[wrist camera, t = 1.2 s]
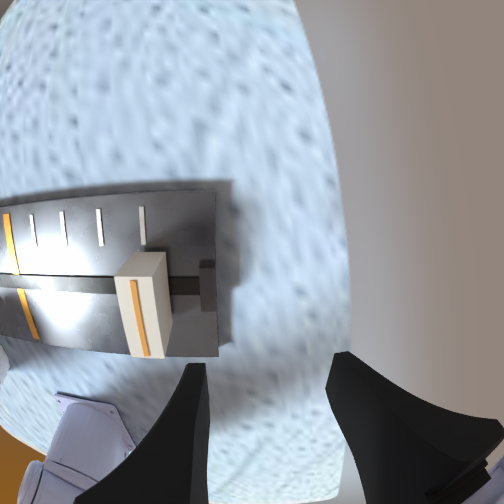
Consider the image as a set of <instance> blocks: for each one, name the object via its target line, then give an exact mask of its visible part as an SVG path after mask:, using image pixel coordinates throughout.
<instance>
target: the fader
mask: <svg viewBox="0 0 504 504" xmlns="http://www.w3.org/2000/svg"><path fill="white" fill-rule="evenodd" d="M114 280H115V286H116V291H117V297H118V302H119V307H120V312H121V317H122V321H123V326H124V330H125V334H126V338H127V342H128V346H129V350H130V354H131V357H139V358H157V359H165V355H166V351H167V346H168V342H169V337H170V333H171V328H172V324H173V321H172V313H171V304H170V295H169V286H168V275H167V263H166V252H134V253H133V255H132V256H131V257H130V258H129V259H128V260H127V262H126V263H125V264H124V265H123V266H122V267H121V269H120V270H119V271H118V272H117V273H116V275H115V276H114Z"/></svg>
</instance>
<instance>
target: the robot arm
mask: <svg viewBox="0 0 504 504" xmlns="http://www.w3.org/2000/svg"><path fill="white" fill-rule="evenodd" d="M325 390H326V393H327V397H328V400H329V403H330V406H331V409H332V411H333V414H334V416H335V418H336V420H337V422H338V424H339V426H340V429H341V431H342V433H343V435H344V437H345V439H346V441H347V443H348V445H349V447H350V449H351V452H352V454H353V456H354V460H355V463H356V466H357V469H358V472H359V475H360V479H361V483H362V487H363V490H364V495H365V499H366V504H504V456H503V457H502V458H501V459H500V460H499V461H498V462H497V463H496V464H495V465H494V466H493V467H492V468H491V469H490V470H489V471H486V469H485V467H486V466H487V465H488V463H487V461H486V460H485V458H486V457H487V456H488V455H489V454H490V453H491V452H492V451H493V450H494V449H495V448H496V447H497V446H498V445H499V444H500V443H501V442H502V440H503V439H504V428H503V426H502V425H501V424H500V423H499V421H498V420H497V419H488V418H479V417H473V416H468V415H464V414H460V413H456V412H453V411H449V410H447V409H444V408H441V407H438V406H436V405H433V404H431V403H429V402H427V401H424V400H422V399H420V398H418V397H416V396H414V395H412V394H411V393H409V392H407V391H405V390H404V389H402V388H400V387H399V386H397V385H396V384H394V383H392V382H391V381H389V380H388V379H386V378H385V377H383V376H382V375H381V374H379V373H378V372H376V371H375V370H373V369H372V368H371V367H370V366H368V365H367V364H365V363H364V362H363V361H361V360H360V359H359V358H357V357H356V356H355V355H353V354H352V353H350V352H349V351H346V352H340V353H335V354H334V358H333V362H332V365H331V369H330V373H329V377H328V380H327V384H326V387H325ZM54 398H55V400H56V402H57V403H58V405H59V407H60V408H61V410H62V411H63V416H62V418H61V420H60V423H59V425H58V427H57V430H56V432H55V435H54V437H53V440H52V442H51V445H50V447H49V450H48V453H47V455H46V458H45V461H44V462H43V463H41V462H40V461H38V460H36V461H32V462H30V464H29V465H28V468H27V470H26V472H25V475H24V477H23V480H22V483H21V486H20V490H19V493H18V501H17V504H209V502H208V489H207V458H208V442H209V428H210V411H209V394H208V385H207V375H206V365H205V363H188V364H187V365H186V367H185V370H184V372H183V375H182V377H181V379H180V381H179V384H178V386H177V388H176V390H175V391H174V393H173V395H172V397H171V399H170V401H169V402H168V404H167V406H166V407H165V409H164V411H163V412H162V414H161V415H160V417H159V418H158V420H157V421H156V423H155V424H154V426H153V427H152V428H151V430H150V431H149V432H148V434H147V435H146V436H145V437H144V439H143V440H142V441H141V442H140V444H139V445H138V446H137V447H136V446H135V444H134V442H133V441H132V439H131V437H130V435H129V433H128V431H127V429H126V428H125V426H124V424H123V422H122V420H121V418H120V415H119V413H118V411H117V409H116V407H115V406H114V405H111V404H106V403H100V402H94V401H88V400H83V399H78V398H74V397H69V396H65V395H61V394H55V395H54ZM129 451H132V452H131V453H130V455H129ZM128 455H129V456H128Z"/></svg>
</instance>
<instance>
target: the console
mask: <svg viewBox="0 0 504 504" xmlns="http://www.w3.org/2000/svg"><path fill="white" fill-rule="evenodd" d="M134 252H166V263H167V275H168V286H169V295H170V304H171V313H172V321H173V324H172V328H171V333H170V337H169V342H168V346H167V351H166V355H165V356H167V357H219V351H218V328H217V300H216V256H215V190H166V191H143V192H126V193H111V194H99V195H87V196H77V197H67V198H58V199H50V200H42V201H34V202H27V203H20V204H14V205H8V206H2V207H0V334H1V335H5V336H10V337H14V338H18V339H23V340H28V341H32V342H38V343H43V344H48V345H54V346H60V347H67V348H73V349H81V350H89V351H97V352H106V353H117V354H129V355H131V354H130V350H129V346H128V342H127V338H126V334H125V330H124V326H123V321H122V317H121V312H120V307H119V302H118V297H117V291H116V286H115V280H114V276H115V275H116V273H117V272H118V271H119V270H120V269H121V267H122V266H123V265H124V264H125V263H126V262H127V260H128V259H129V258H130V257H131V256H132V255H133V253H134Z"/></svg>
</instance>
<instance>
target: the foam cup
mask: <svg viewBox="0 0 504 504" xmlns="http://www.w3.org/2000/svg"><path fill="white" fill-rule="evenodd" d="M9 368H10V364H9V360H8V357H7V355H6V353H5V351H4V350H3V348H2V346H1V345H0V388H1V386H2V384H3V382H4V379H5V377H6V375H7V372H8V371H9Z"/></svg>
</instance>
